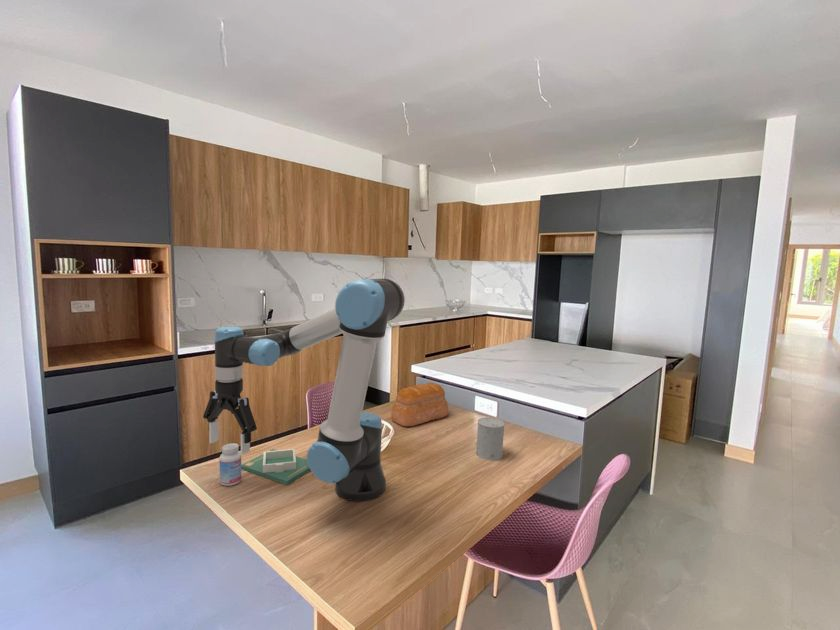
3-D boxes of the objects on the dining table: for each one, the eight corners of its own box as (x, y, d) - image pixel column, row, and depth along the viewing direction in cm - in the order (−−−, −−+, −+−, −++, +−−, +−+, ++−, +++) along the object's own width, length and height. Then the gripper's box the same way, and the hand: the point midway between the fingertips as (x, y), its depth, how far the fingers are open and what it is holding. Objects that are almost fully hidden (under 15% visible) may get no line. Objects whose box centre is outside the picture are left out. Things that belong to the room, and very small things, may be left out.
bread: (451, 417, 192) (453, 384, 190) (406, 430, 175) (408, 394, 173) (431, 408, 202) (432, 377, 200) (387, 420, 185) (388, 386, 183)
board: (317, 466, 141) (317, 455, 140) (286, 485, 128) (286, 473, 128) (273, 452, 150) (273, 442, 149) (240, 468, 137) (240, 457, 137)
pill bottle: (233, 487, 126) (232, 451, 124) (215, 485, 127) (214, 449, 126) (245, 478, 132) (245, 443, 130) (228, 475, 133) (227, 441, 131)
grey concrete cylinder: (473, 457, 152) (474, 424, 151) (479, 446, 161) (481, 415, 160) (499, 462, 149) (501, 429, 147) (504, 452, 157) (506, 420, 156)
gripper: (269, 383, 123) (269, 452, 126) (211, 369, 134) (212, 433, 137) (249, 389, 117) (248, 462, 119) (189, 374, 127) (190, 441, 130)
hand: (229, 447), depth 128 cm, fingers open, 13 cm apart
